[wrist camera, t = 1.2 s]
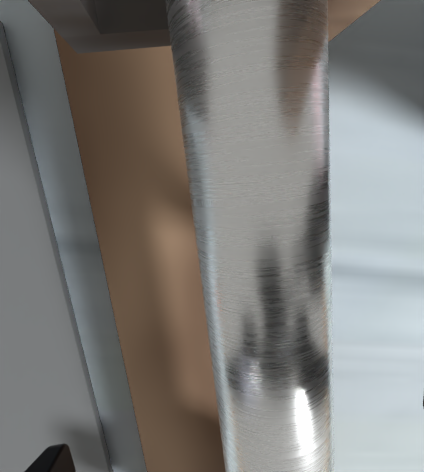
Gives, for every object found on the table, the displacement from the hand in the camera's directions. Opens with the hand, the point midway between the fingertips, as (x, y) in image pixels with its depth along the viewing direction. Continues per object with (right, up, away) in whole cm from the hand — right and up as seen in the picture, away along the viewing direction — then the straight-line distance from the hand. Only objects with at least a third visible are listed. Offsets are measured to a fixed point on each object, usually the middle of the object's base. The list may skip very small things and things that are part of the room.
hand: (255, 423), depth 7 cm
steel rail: (0, 0, +1) cm, 1 cm away
